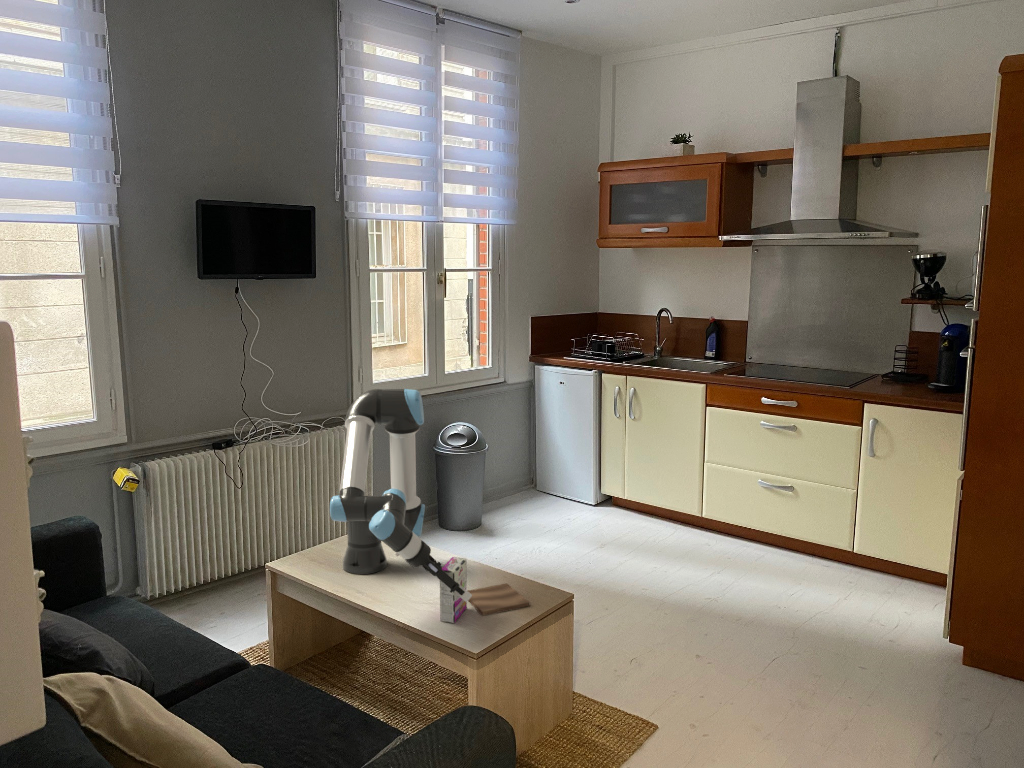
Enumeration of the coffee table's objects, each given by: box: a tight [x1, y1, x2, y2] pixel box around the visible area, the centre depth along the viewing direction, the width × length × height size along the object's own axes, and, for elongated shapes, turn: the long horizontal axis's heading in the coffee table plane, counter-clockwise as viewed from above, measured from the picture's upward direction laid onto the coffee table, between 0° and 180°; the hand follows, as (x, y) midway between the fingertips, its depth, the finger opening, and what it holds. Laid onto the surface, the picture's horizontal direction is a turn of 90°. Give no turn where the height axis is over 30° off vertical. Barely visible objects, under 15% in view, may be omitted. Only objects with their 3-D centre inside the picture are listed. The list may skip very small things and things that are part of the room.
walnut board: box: [467, 583, 530, 616], centre depth 250 cm, size 16×16×1 cm
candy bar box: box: [439, 556, 468, 624], centre depth 238 cm, size 11×5×16 cm, turn 164°
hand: (460, 589), depth 239 cm, fingers open, 13 cm apart
